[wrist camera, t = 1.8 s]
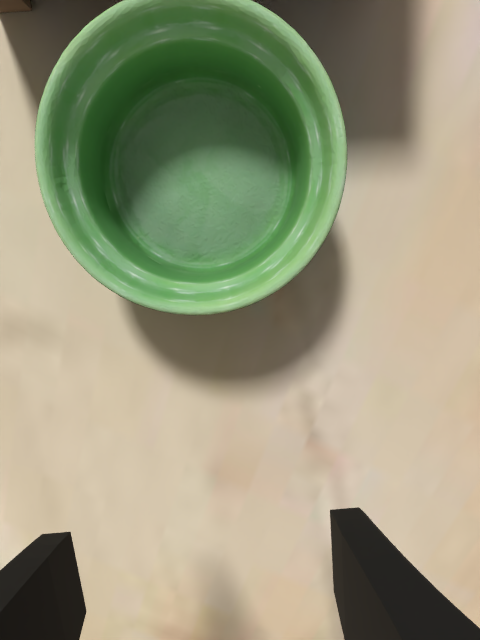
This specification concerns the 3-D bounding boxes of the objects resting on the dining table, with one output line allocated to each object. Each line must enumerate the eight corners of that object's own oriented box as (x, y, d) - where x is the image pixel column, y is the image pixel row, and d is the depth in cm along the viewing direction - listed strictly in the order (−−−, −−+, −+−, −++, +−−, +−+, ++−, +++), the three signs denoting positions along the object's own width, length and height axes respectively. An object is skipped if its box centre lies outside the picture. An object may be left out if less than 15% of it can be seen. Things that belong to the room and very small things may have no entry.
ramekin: (367, 181, 17) (412, 166, 12) (203, 338, 18) (193, 374, 14) (202, -10, 15) (189, -102, 11) (36, 176, 16) (-33, 160, 12)
